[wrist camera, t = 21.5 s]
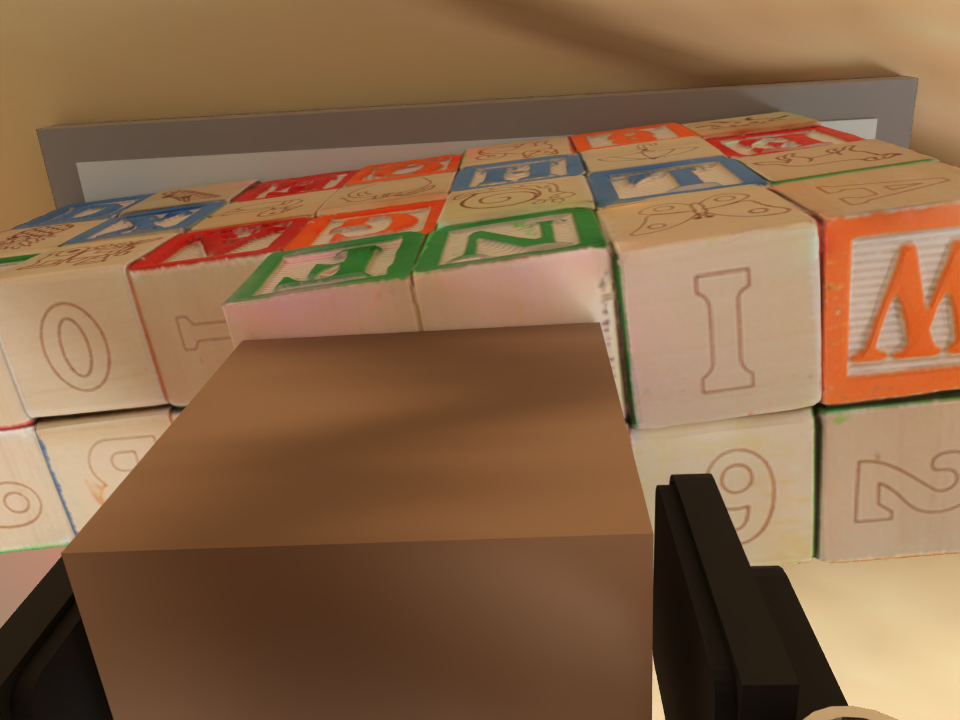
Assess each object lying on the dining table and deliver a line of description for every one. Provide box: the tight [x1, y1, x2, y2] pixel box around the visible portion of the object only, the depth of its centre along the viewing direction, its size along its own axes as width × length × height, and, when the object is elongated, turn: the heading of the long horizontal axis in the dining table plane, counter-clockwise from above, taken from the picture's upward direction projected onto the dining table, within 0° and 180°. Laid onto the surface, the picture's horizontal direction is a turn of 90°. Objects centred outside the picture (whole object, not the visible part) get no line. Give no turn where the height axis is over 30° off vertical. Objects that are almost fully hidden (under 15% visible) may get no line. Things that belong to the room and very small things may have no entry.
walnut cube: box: [61, 322, 654, 720], centre depth 11 cm, size 6×6×6 cm
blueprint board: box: [36, 76, 918, 209], centre depth 26 cm, size 25×10×1 cm, turn 93°
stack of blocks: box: [0, 112, 960, 569], centre depth 19 cm, size 21×6×12 cm, turn 98°
